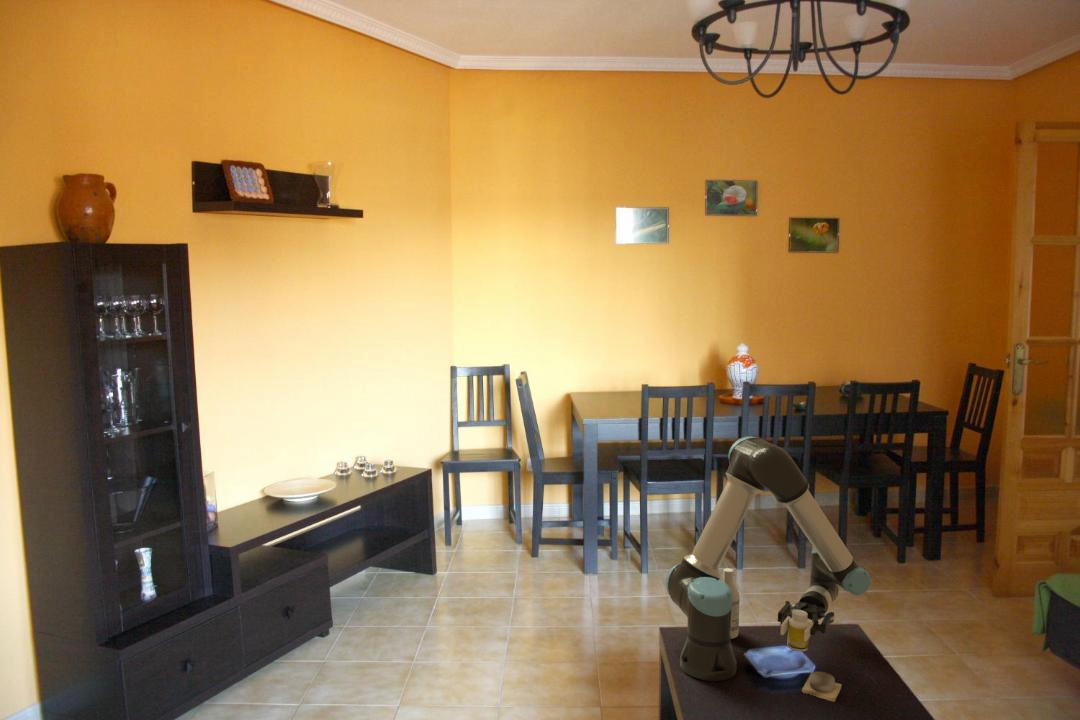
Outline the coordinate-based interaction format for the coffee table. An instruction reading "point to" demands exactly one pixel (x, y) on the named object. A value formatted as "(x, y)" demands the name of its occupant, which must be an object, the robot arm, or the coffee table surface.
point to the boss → (822, 686)
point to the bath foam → (736, 600)
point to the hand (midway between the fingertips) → (793, 633)
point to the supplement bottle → (797, 631)
